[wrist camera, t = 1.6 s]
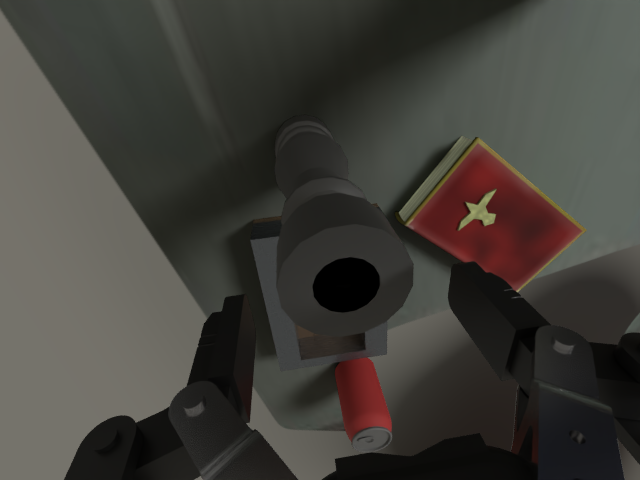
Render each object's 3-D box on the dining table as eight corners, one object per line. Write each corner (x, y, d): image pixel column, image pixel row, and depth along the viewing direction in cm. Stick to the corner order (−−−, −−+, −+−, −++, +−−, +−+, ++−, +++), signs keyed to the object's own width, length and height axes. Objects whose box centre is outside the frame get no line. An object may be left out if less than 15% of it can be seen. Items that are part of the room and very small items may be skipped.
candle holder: (316, 181, 37) (371, 354, 15) (265, 158, 35) (246, 319, 13) (342, 131, 35) (450, 252, 13) (289, 103, 33) (312, 191, 11)
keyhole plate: (376, 203, 39) (388, 221, 35) (377, 328, 50) (386, 354, 45) (253, 219, 38) (250, 240, 34) (280, 343, 49) (280, 371, 44)
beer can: (338, 352, 51) (354, 426, 41) (377, 353, 52) (402, 426, 42) (330, 379, 54) (343, 455, 44) (367, 380, 56) (388, 454, 45)
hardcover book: (496, 279, 48) (514, 297, 44) (392, 213, 41) (403, 228, 37) (562, 216, 44) (588, 231, 40) (459, 130, 36) (479, 138, 33)
